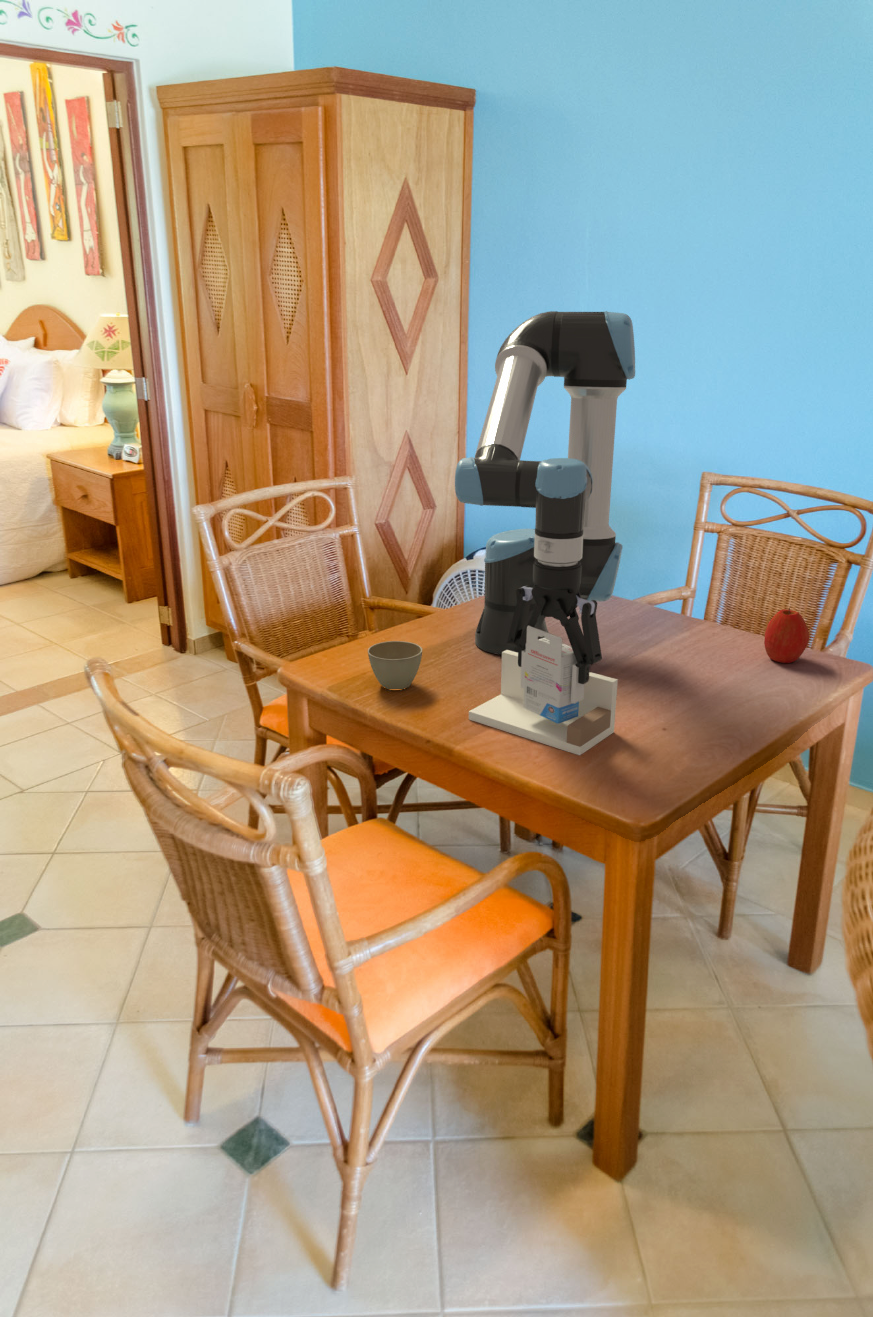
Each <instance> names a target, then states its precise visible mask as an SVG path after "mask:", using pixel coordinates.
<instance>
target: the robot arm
mask: <svg viewBox="0 0 873 1317" xmlns="http://www.w3.org/2000/svg"><path fill="white" fill-rule="evenodd" d="M634 334H635V332H634V327H633V320H632V319H631V316H629V315H628V314H626V313H624V312H613V311H608V310H605V311H557V310H556V311H555V310H554V311H552V310H551V311H545V312H540V313H538V314H536V315H534V316H531V317H529V318H528V319H526V320H525V321H523V322H522V323H520V324H519V325H518V326H516V327H515V329H514V330H512V331H511V333H510V334H508V336H507V337H506V338H505V340H504V341H503V343H502V344H501V345H500V347H499V349H498V352H497V356H496V359H495V363H494V372H495V374H496V379H495V382H494V383H495V384H494V386H493V390H492V393H491V397H490V401H489V405H488V407H487V412H486V415H485V419H484V423H483V426H482V430H481V433H480V437H479V440H478V443H477V447H476V451H475V454H474V456H471V457H462V458H461V459H460V460H459V461H458V462H457V464H456V468H455V473H454V492H455V496H456V498H457V500H458V501H459V502H460V503H462V504H470V505H475V506H489V507H490V506H491V507H494V506H496V507H514V508H516V507H517V508H532V509H535V526H534V528H518V529H511V530H506V531H502V532H499V533H495V534H494V535H492V536H491V537H489V539H488V540H487V542H486V545H485V553H484V554H485V556H484V559H483V562H484V605H483V610H482V613H481V615H480V618H479V621H478V623H477V627H476V629H475V633H474V637H475V638H474V643H475V645H476V647H477V648H478V649H481V650H482V651H483V652H484V651H485V652H487V653H491V654H495V655H499V656H500V655H501V656H502V652H503V651H505V650H510V651H513V652H517V653H518V666H519V667H521V688H524V682H525V652H526V640H527V626H531V627H534V628H536V629H539V630H542V631H545V632H548V633H550V632H549V630H548V627H547V623H546V622H547V621H546V618H553V619H555V620H557V621H559V622H560V624H561V627H563V628H564V631H565V633H566V635H567V639H568V641H569V643H570V646H571V647H572V650H573V652H574V655H575V658H576V661H577V663H575V664H573V668H572V687H571V703H574V704H575V703H577V702H578V701H580V700H582V699H584V684H585V683H587V682H588V680H589V672H590V669H591V668H590V667H591V665H592V666H593V665H594V664H596V663H598V662H600V661H602V659H603V656H602V648H601V643H600V641H601V640H600V636H599V630H598V629H599V627H598V622H597V621H598V620H597V616H596V615H597V608H598V602H606V601H608V600H610V599H611V598H612V596H613V593H614V588H615V586H616V581H617V577H618V576H617V575H618V573H619V567H620V564H621V563H620V562H621V557H622V553H623V552H622V551H623V544H622V543H620V542H616V536H617V533H616V532H615V530H613V529H612V527H611V526H610V525H609V524H610V510H611V497H612V495H611V494H612V479H613V467H614V466H613V465H614V453H615V452H614V450H615V437H616V436H615V435H616V434H615V433H616V422H617V421H616V420H617V406H618V399H619V397H620V395H621V394H623V393H624V392H625V390H627V382H628V381H627V380H632V379H634V378H635V377H636V353H635V352H636V349H635V335H634ZM547 377H556V378H563V389H565V391H566V392H567V393H568V394H569V396H570V410H569V411H570V415H569V430H568V431H569V432H568V445H567V446H568V447H567V457H564V458H563V457H555V458H548V459H544V460H541V461H540V460H521V456H522V453H523V449H524V445H525V440H526V435H527V431H528V428H529V423H530V420H531V417H532V416H531V415H532V412H533V411H532V410H533V407H534V402H535V400H536V395H537V390H538V388H539V386H541V384H542V383H543V382H544V380H545V379H546V378H547ZM577 608H579V610H578V611H577ZM578 612H579V614H581V615H580V617H579V614H578ZM579 620H580V622H581V625H580V623H579ZM542 638H545V637H544V636H543V637H540V636H538V639H542Z"/></svg>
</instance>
